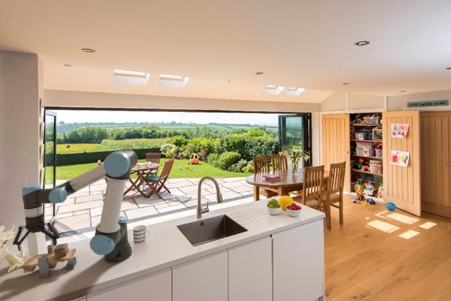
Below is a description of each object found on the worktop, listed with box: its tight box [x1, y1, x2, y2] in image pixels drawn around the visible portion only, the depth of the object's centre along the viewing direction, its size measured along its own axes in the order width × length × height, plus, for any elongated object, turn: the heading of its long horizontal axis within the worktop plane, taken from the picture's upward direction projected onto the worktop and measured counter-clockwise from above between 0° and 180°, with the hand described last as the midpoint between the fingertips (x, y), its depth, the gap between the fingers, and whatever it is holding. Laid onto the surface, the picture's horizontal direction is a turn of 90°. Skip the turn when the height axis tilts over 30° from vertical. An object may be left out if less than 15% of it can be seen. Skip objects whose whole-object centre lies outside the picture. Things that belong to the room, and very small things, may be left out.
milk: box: [25, 228, 48, 257], centre depth 145 cm, size 6×6×22 cm
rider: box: [54, 242, 69, 258], centre depth 133 cm, size 5×5×5 cm
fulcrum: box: [38, 244, 59, 280], centre depth 132 cm, size 4×15×11 cm, turn 19°
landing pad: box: [66, 256, 77, 271], centre depth 136 cm, size 3×7×4 cm, turn 18°
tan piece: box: [15, 247, 77, 274], centre depth 132 cm, size 24×11×9 cm, turn 108°
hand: (38, 253), depth 130 cm, fingers open, 13 cm apart
